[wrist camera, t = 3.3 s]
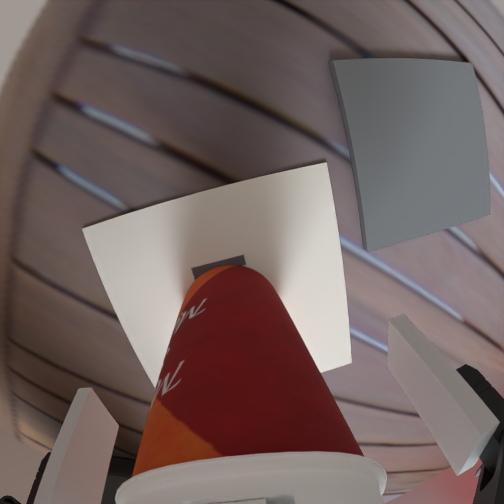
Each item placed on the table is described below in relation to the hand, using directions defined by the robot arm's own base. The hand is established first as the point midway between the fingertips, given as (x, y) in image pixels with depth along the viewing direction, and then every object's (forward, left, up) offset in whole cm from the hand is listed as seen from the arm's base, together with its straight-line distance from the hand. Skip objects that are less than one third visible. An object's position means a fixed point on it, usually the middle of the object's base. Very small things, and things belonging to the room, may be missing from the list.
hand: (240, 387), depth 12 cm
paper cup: (0, 0, -7) cm, 7 cm away
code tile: (0, 0, -7) cm, 7 cm away
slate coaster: (+14, +7, -7) cm, 17 cm away
